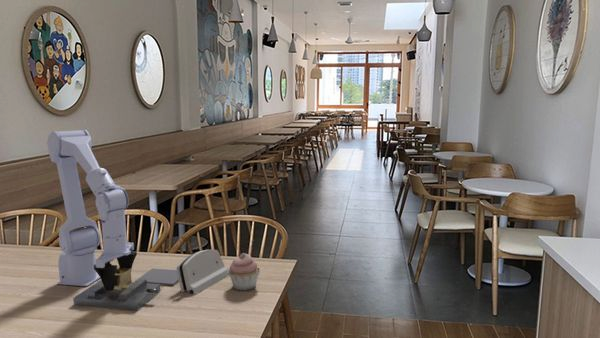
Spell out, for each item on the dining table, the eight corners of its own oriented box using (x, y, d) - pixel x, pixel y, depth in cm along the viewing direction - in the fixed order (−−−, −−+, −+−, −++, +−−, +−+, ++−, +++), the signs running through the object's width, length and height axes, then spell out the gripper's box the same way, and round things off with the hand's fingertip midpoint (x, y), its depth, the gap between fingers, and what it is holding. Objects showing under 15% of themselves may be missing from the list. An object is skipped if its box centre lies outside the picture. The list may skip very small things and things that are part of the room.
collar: (103, 288, 119) (102, 274, 118) (114, 281, 124) (113, 267, 123) (121, 289, 118) (120, 275, 117) (131, 282, 123) (130, 268, 122)
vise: (73, 305, 117) (71, 281, 116) (101, 286, 129) (100, 264, 128) (146, 311, 114) (145, 286, 113) (169, 291, 125) (167, 269, 124)
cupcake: (220, 286, 128) (219, 253, 127) (246, 277, 135) (245, 245, 134) (242, 296, 122) (241, 260, 121) (267, 286, 129) (267, 252, 127)
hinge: (194, 295, 123) (183, 259, 123) (182, 297, 125) (171, 263, 125) (230, 274, 138) (220, 242, 138) (219, 276, 140) (209, 245, 140)
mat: (135, 282, 131) (135, 280, 131) (152, 270, 141) (152, 268, 141) (173, 285, 129) (173, 283, 129) (188, 272, 139) (188, 270, 139)
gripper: (112, 244, 111) (115, 296, 113) (142, 227, 125) (145, 274, 127) (86, 242, 112) (90, 294, 114) (119, 226, 126) (122, 273, 128)
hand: (117, 284), depth 121 cm, fingers open, 7 cm apart
